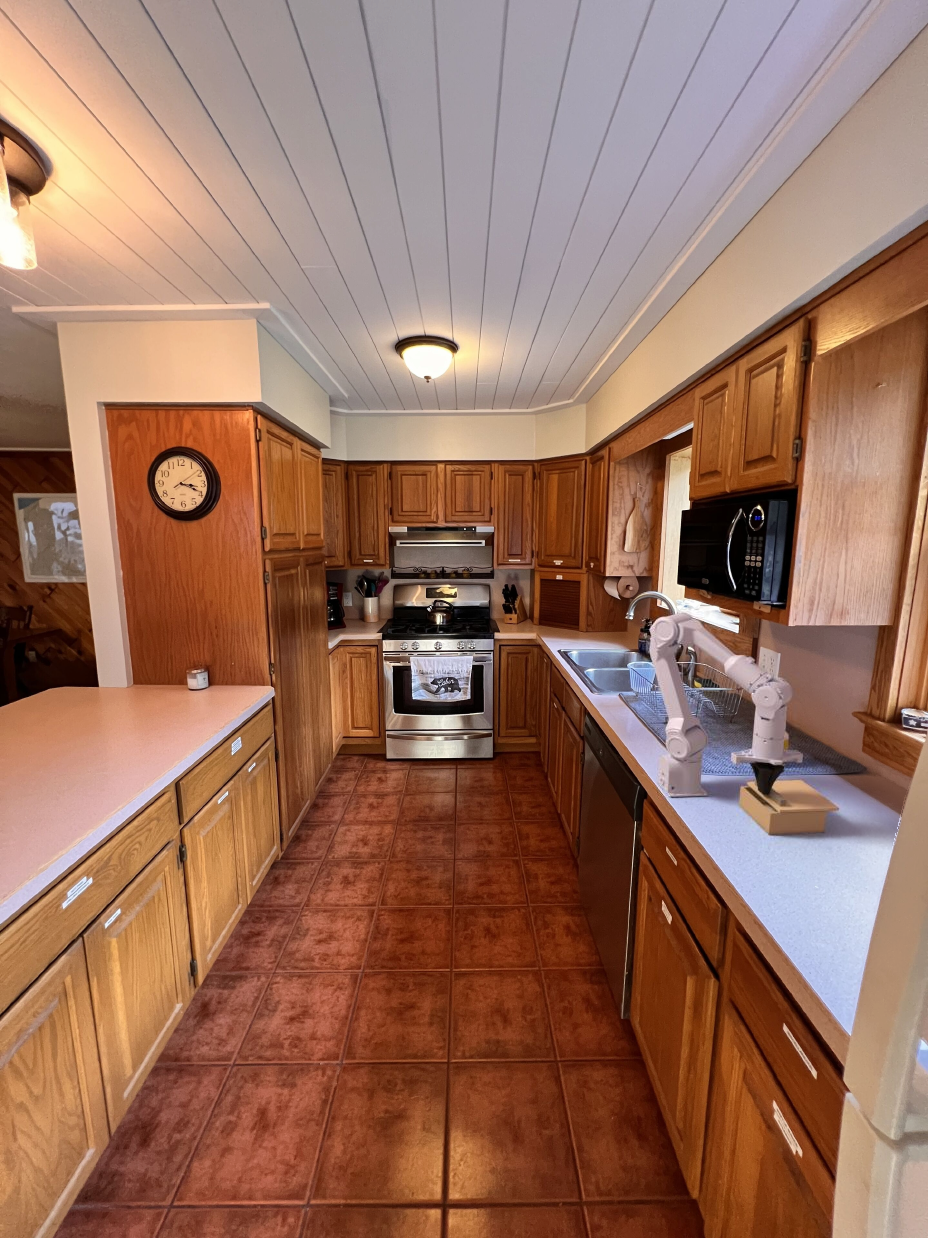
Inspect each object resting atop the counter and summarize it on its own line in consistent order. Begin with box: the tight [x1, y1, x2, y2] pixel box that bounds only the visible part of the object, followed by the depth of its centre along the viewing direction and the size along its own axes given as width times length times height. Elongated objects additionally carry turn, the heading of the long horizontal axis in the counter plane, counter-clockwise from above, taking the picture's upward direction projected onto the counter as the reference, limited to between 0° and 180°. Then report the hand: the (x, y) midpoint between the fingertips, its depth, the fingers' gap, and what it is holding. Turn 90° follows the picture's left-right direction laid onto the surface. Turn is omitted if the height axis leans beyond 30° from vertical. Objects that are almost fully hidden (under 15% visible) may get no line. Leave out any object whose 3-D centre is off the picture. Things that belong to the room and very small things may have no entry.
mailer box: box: [738, 785, 828, 836], centre depth 110 cm, size 12×11×5 cm
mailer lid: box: [746, 778, 840, 813], centre depth 109 cm, size 13×12×2 cm
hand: (763, 792), depth 109 cm, fingers closed
